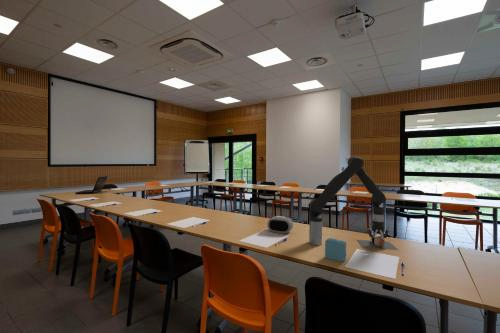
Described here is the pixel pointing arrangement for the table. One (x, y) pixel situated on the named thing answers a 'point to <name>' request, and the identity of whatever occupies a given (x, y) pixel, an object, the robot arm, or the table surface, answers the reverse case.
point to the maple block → (378, 240)
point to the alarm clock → (280, 224)
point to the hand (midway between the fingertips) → (377, 242)
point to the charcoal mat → (372, 245)
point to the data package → (335, 249)
